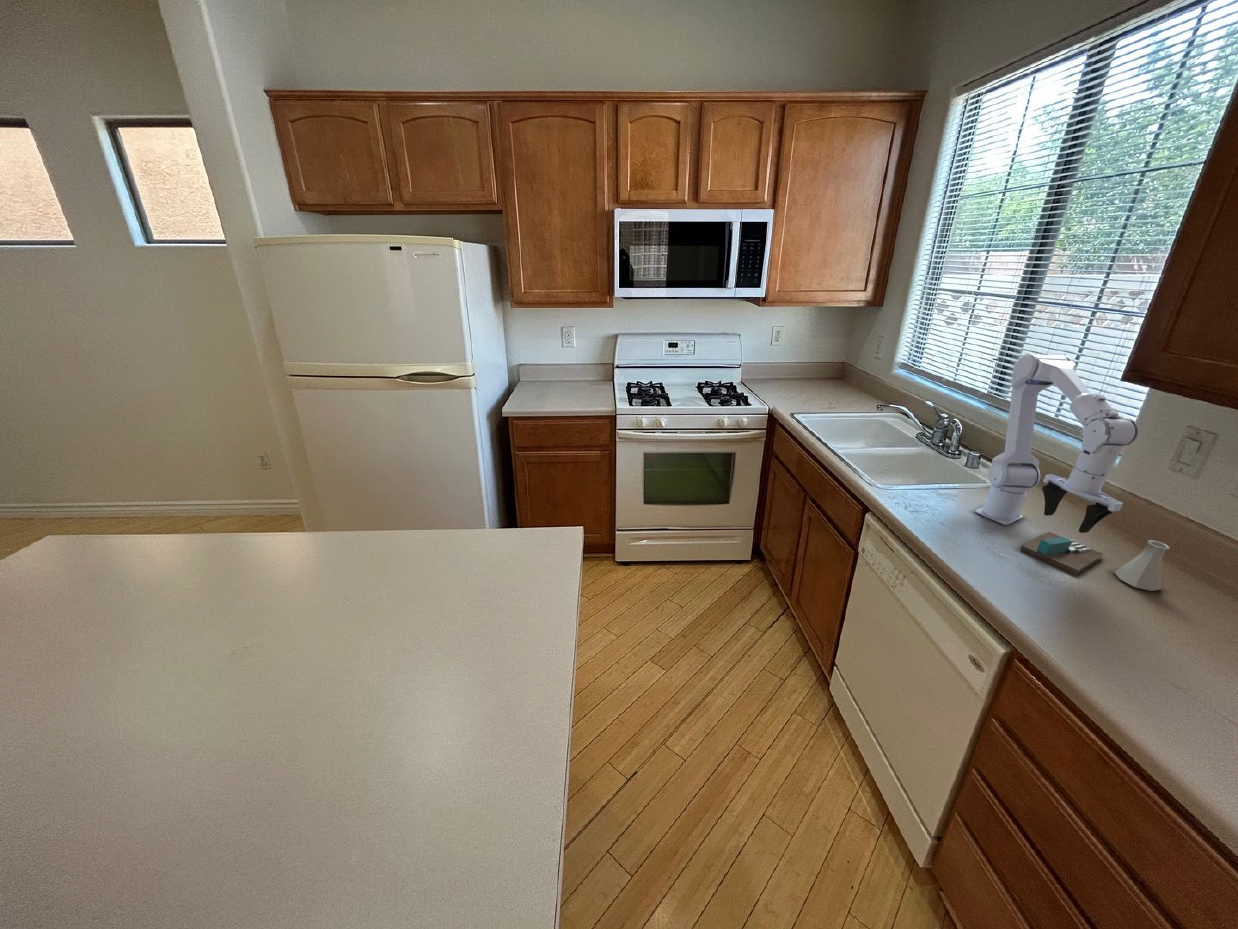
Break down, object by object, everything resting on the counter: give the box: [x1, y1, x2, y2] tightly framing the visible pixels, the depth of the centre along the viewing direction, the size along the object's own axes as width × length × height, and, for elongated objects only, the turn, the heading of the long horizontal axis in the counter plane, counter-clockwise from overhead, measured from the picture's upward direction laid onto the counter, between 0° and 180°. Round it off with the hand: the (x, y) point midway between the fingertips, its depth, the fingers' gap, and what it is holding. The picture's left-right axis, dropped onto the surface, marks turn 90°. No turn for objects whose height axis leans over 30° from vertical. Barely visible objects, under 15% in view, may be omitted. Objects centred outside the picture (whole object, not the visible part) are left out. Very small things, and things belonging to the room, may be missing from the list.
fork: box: [1037, 536, 1093, 555], centre depth 114 cm, size 13×4×3 cm, turn 104°
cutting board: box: [1019, 531, 1104, 576], centre depth 115 cm, size 14×11×2 cm
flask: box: [1113, 539, 1171, 592], centre depth 104 cm, size 7×7×10 cm
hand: (1065, 523), depth 111 cm, fingers open, 7 cm apart
